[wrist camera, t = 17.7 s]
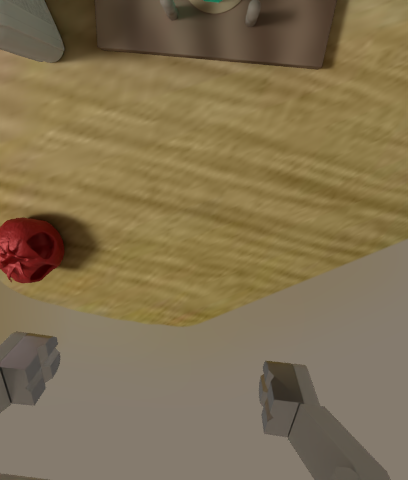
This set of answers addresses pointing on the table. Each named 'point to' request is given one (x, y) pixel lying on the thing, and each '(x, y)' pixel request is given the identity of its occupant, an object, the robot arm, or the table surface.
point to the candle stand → (219, 29)
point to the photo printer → (29, 30)
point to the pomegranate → (29, 249)
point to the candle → (213, 1)
